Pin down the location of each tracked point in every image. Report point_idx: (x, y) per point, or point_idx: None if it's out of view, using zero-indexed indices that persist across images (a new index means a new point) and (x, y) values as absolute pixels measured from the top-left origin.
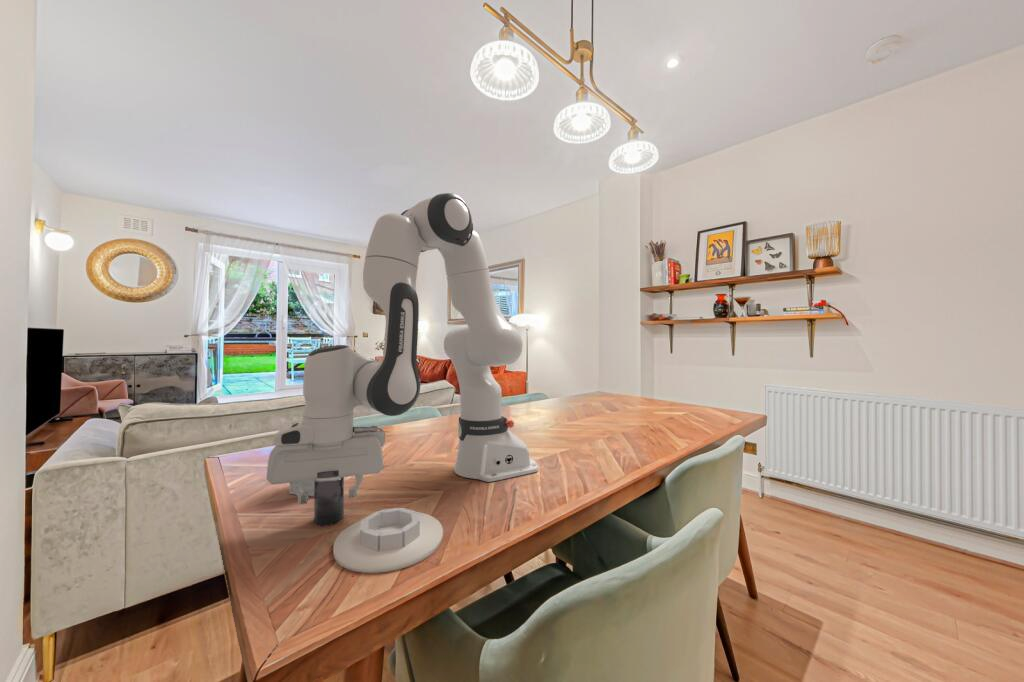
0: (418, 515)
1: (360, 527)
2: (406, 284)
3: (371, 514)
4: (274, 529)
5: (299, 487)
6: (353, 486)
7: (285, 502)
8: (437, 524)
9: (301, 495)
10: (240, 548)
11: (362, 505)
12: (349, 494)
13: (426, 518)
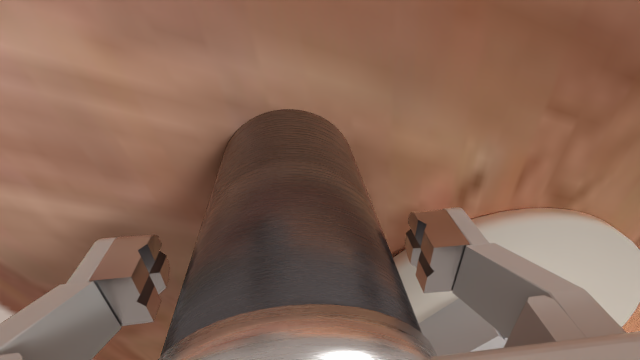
0: (616, 261)
1: (417, 298)
2: None
3: (472, 350)
4: (63, 207)
5: (48, 344)
6: (461, 252)
7: None
8: (624, 312)
9: (119, 328)
10: (32, 301)
11: (451, 47)
12: (416, 263)
13: (623, 281)
